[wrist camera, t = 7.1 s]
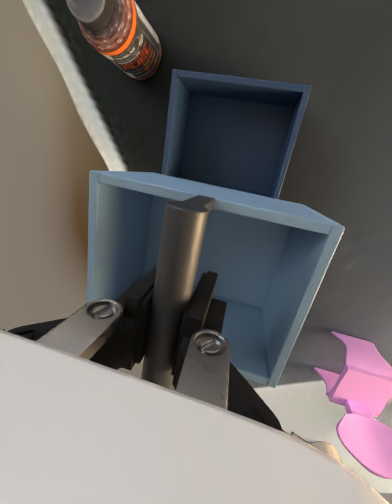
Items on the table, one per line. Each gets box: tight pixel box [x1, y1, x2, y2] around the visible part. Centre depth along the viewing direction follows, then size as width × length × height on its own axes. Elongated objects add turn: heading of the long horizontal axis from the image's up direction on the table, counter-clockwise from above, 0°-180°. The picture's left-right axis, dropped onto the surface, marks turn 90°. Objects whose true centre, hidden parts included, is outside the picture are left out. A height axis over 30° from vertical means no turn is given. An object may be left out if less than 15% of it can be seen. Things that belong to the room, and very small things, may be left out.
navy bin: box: [162, 69, 312, 199], centre depth 28 cm, size 14×12×7 cm
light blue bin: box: [87, 171, 345, 390], centre depth 14 cm, size 12×10×12 cm
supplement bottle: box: [66, 0, 162, 80], centre depth 25 cm, size 6×6×11 cm
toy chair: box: [313, 331, 392, 479], centre depth 31 cm, size 8×9×15 cm
